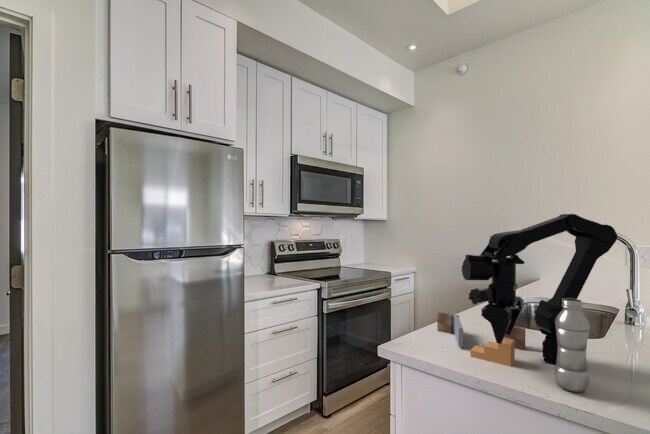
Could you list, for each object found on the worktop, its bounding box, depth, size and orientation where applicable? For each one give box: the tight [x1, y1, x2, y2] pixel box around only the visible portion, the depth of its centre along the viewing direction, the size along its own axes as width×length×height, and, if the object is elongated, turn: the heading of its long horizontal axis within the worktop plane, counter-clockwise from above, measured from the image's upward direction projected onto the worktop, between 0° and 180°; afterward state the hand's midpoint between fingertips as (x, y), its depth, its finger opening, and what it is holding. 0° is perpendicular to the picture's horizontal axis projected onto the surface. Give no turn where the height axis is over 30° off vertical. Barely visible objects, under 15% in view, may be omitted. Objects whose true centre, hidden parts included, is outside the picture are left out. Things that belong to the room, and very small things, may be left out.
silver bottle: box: [553, 298, 591, 393], centre depth 78 cm, size 6×7×20 cm
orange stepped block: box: [470, 338, 516, 367], centre depth 94 cm, size 10×5×6 cm, turn 51°
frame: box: [436, 311, 526, 351], centre depth 110 cm, size 26×2×6 cm, turn 49°
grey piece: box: [452, 314, 464, 348], centre depth 108 cm, size 15×2×6 cm, turn 164°
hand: (503, 338), depth 92 cm, fingers open, 9 cm apart
